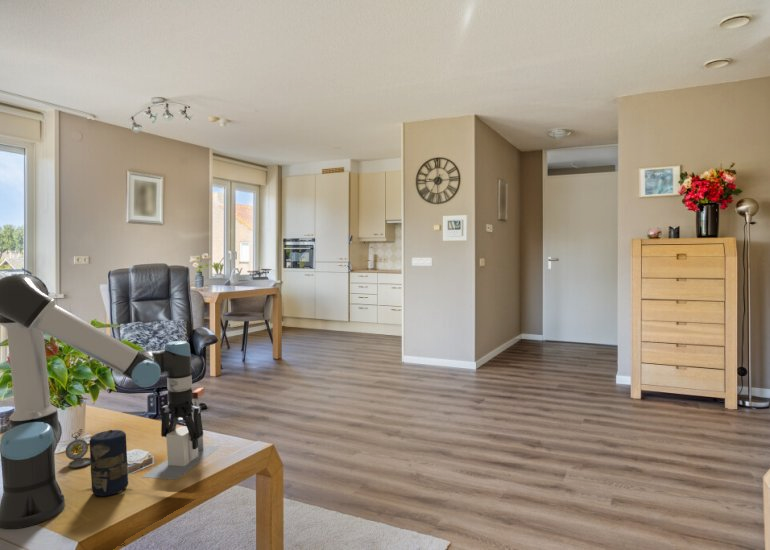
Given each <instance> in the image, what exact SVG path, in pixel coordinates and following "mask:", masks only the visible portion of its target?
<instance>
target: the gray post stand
mask: <svg viewBox="0 0 770 550" xmlns="http://www.w3.org/2000/svg"><path fill="white" fill-rule="evenodd" d="M219 448H221V446H220V445H206V444H205V445H204V435H203V436H201V437H200V438H198V457H197V458H195V459H194V460H192V461H191V462H190V463H188V464H187V465H186V466H173V465H168V458H167V459H166V460H164V461H163V462H161V463H159V465H157V466H155V467H154V468H152V469H151V470H149V471H148V472H146V473H145V474H144V475H141V478H147V479H160V480H161V479H162V480H178V479H180V477H182V476H184V474H186V473H188V471H190V470H191V469H192V468H194V467H196V465H198V464H199V463H201V462H202V461H203V460H204V459H205V458H207V457H209V456H210V455H211V454H212V453H214V452H215V451H217V450H218V449H219Z"/></svg>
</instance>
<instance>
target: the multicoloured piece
mask: <svg viewBox="0 0 770 550" xmlns="http://www.w3.org/2000/svg"><path fill="white" fill-rule="evenodd" d="M192 394H193V399H192V403H193V405H194V406H196V407H199V406H200V398H201V397H202V396H203V395H205V387H198V388H197V389H195V390H194V391H192ZM192 419H193V422H194V418H193V416H192ZM201 420H202V421H203V415H201ZM183 422H184V423H185V421H184V420H183V418H181V417H179V418H178V421H177V423H183Z"/></svg>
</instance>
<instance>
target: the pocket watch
mask: <svg viewBox="0 0 770 550" xmlns="http://www.w3.org/2000/svg"><path fill="white" fill-rule="evenodd" d="M76 434H78V435H76ZM73 435H74V436H73ZM80 436H81V433H80V432H77V431H76V432H74V433H72V434H71V438H72V439H74V440H72V441H70V442H69V443H68V444H67V446H66V448H65V456H66V457H67V458H68V459H69V460H72V461H70V462H68V468H76V469H77V468H82V467H86V466H88V465H90V457H84V456H86V454H87V453H88V450H89V445H88V442H86V441H85V440H84V439H79V438H80Z"/></svg>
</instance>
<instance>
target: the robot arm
mask: <svg viewBox="0 0 770 550" xmlns="http://www.w3.org/2000/svg"><path fill="white" fill-rule="evenodd" d="M49 294H50V293H49V290H48V287H47V285H46V283H45V282H44V281H43V280H42V279H40V278H39V277H37V276H35V275H32V274H28V273H18V274H17V273H16V274H13V275H8V276H4V277H2V278H0V325H1V326H2V327H4V328H5V329H6V337H7V345H8V355H9V363H10V373H11V384H12V392H13V393H12V394H13V395H12V396H13V404H14V405H13V406H14V412H13V413H11V415H10V416H9V417H8V419H9V429H8V430H6V431H5V432H3V434H2V435H1V437H0V462H1V474H2V475H1V476H2V477H1V478H2V479H1V480H2V490H3V491H2V495H1V499H0V528H2V529H22V528H25V527H30V526H35V525H36V524H40V523H43V522H45V521H47V520H49V519H52V518H54V517H55V516H57V515H59V514H60V513H61V512H62V511H63V510H64V509H65V507H66V506H65V505H66V503H65V501H66V500H65V496H64V494H63V493H62V490H61V487H60V485H59V484H58V481H57V480H56V479H57V478H56V477H57V476H56V464H55V461H56V460H55V452H56V449H57V447H58V444H59V442H60V441H61V437H62V433H63V430H62V429H63V427H62V425H61V422H60V420H59V414H58V407H57V406H56V405H53V404H51V395H50V384H49V375H48V364H47V362H48V361H47V354H46V347H45V346H46V343H45V334H47V335H49V336H51V337H53V338H54V339H56V340H58V341H60V342H62V343H64V344H66V345H67V346H70V347H71V348H73V349H75V350H77V351H78V352H80V353H83V354H84V355H86V356H88V357H90V358H91V359H93V360H95V361H98V362H99V363H101V364H103V365H104V366H107V367H108V368H110V369H112V370H114V371H116V372H118V373H120V374H121V375H123V376H124V377H127V378H128V379H131V380H132V382H133V383H134V384H135V385H137V386H138V387H140V388H150V387H152V386H154V385H155V384H156V383H157V382H158V381H159V380H160V377H161V374H166V380H167V383H166V385H167V402H168V404H166V405H163V406H162V407H160V413H161V425H160V426H161V427H160V428H161V429H160V430H161V431H160V432H161V433H160V436H161V437H162V438H166V439H167V437H166V435H167V434H169V433H170V432H172V431H174V430H175V429H177V426H178V425H177V424H178V422H177V421H178V418H183V420H184V421H185V422H184V423H185V425H186V426H187V429H188V432H189V434H190V437H191V439H190V440H189V453H190V460H193V459H194V458H195V457H197V456H196V448H198V438H200V437H201V436H203V437H204V428H203V419H202V420H201V416H202V409H203V407H202V406H200V405H199V407H196V406H194V402H193V394H192V393H193V388H192V386H193V379H192V378H193V376H192V357H191V356H192V355H191V345H190V343H189V342H188V341H184V340H177V341H170V342H167V343H165V346H164V349H160V350H159V349H157V350H149V351H138V350H137V349H135V348H133V347H131V346H130V345H128V344H125V343H124V342H122V341H121V340H119V339H117V338H115V337H113V336H112V335H109V333H106V332H105V331H103V330H101V329H99V328H97V327H96V326H94V325H92V324H90V323H89V322H87V321H85V320H84V319H82V318H81V317H79V316H77V315H74V314H73V313H71V312H69V311H67V310H66V309H65V308H62V307H61V306H58V305H57V304H56V301H55V299H54V298H53V297H51V296H49ZM170 412H171V413H170ZM170 414H171V415H170ZM192 417H193V418H194V422H193V419H192Z"/></svg>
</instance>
